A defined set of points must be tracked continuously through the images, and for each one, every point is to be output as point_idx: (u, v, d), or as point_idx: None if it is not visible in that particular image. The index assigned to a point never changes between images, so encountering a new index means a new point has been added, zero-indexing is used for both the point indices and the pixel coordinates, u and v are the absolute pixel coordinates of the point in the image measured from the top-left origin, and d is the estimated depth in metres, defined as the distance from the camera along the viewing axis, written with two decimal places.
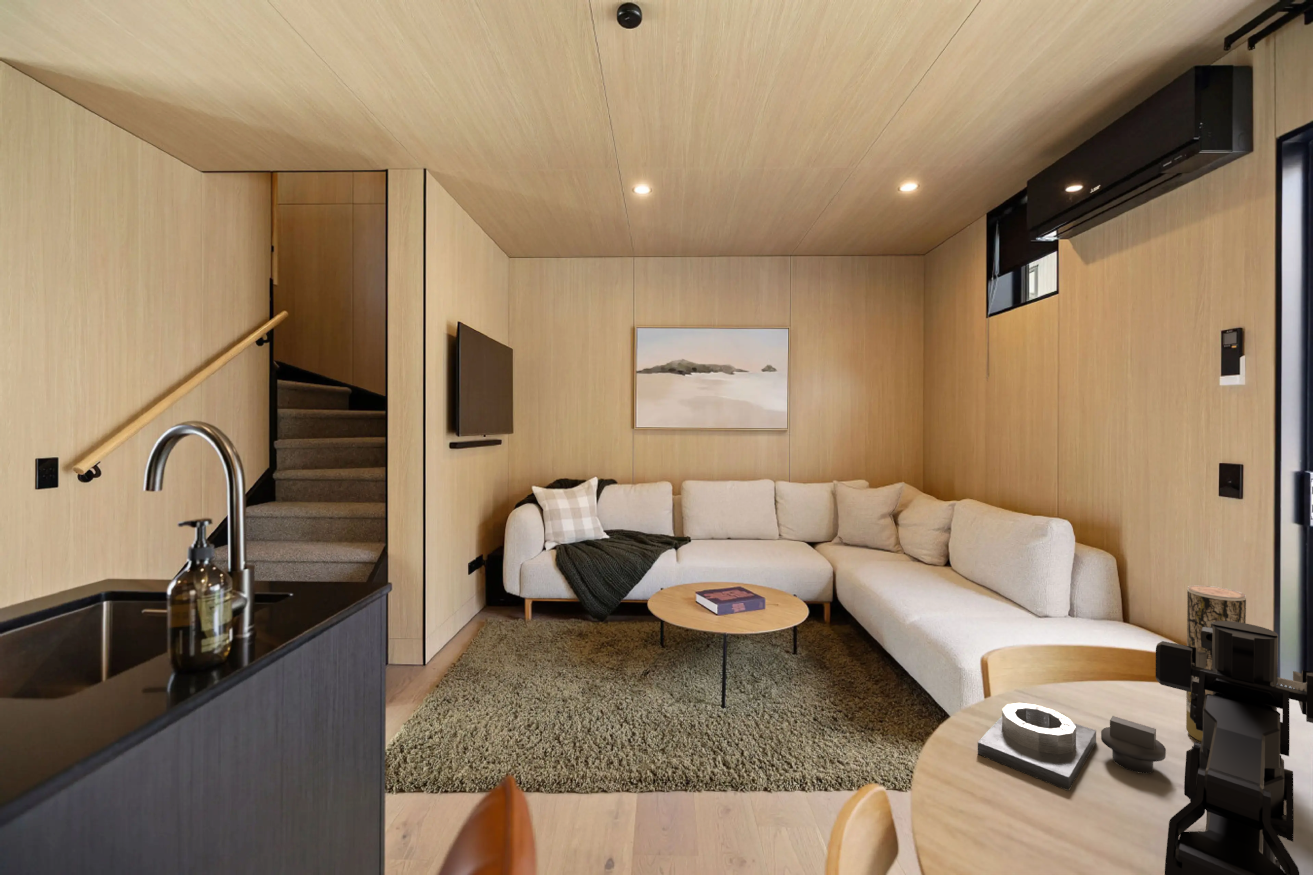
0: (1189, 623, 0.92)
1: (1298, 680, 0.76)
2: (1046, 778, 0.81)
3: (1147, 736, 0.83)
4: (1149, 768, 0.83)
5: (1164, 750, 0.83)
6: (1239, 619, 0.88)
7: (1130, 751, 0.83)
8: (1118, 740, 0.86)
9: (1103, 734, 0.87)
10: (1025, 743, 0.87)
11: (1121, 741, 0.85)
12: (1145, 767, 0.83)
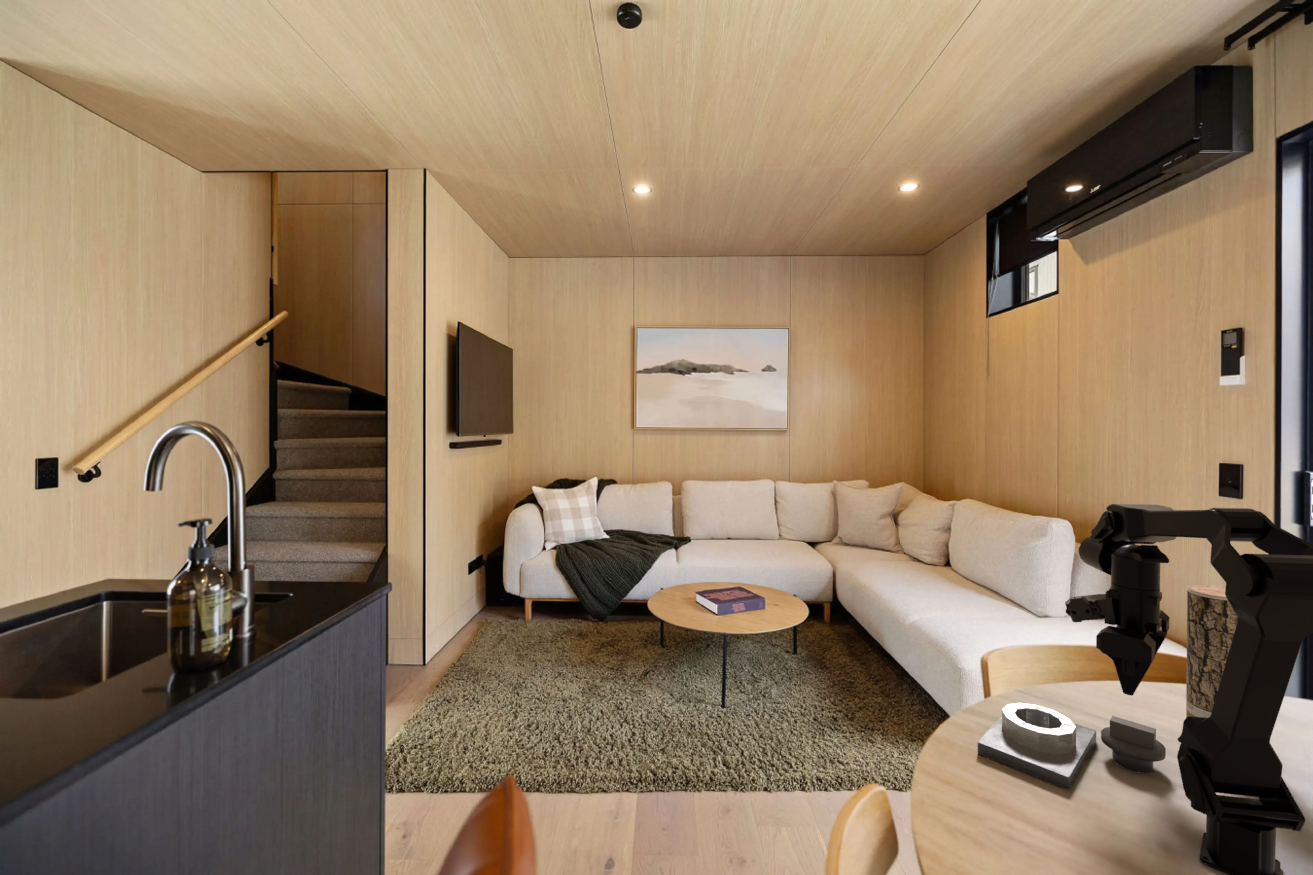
0: (1189, 623, 0.92)
1: None
2: (1046, 778, 0.81)
3: (1146, 736, 0.83)
4: (1149, 768, 0.83)
5: (1164, 750, 0.83)
6: None
7: (1130, 751, 0.83)
8: (1118, 740, 0.86)
9: (1103, 734, 0.87)
10: (1025, 743, 0.87)
11: (1121, 741, 0.85)
12: (1145, 767, 0.83)
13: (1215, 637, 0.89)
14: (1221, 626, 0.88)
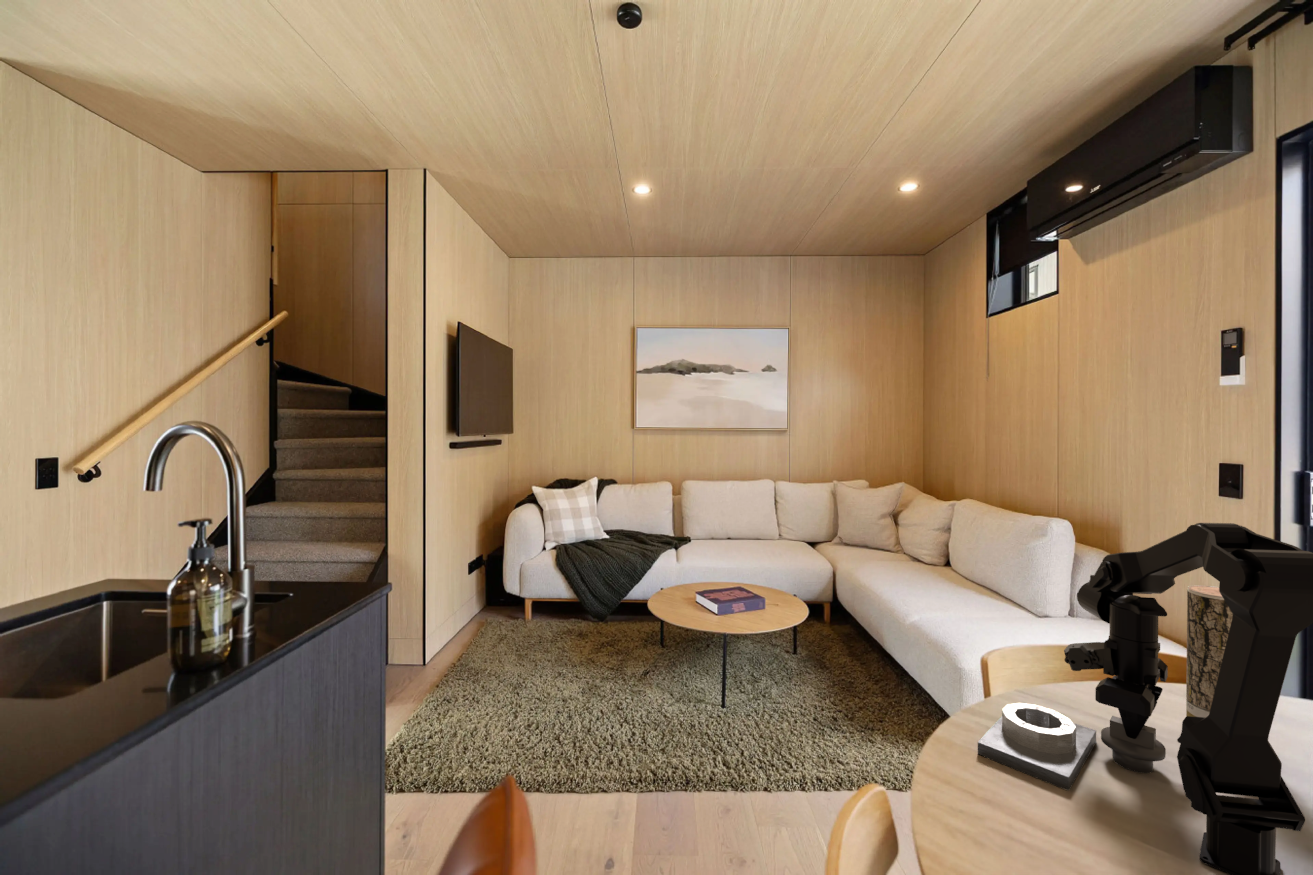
0: (1189, 623, 0.92)
1: None
2: (1046, 778, 0.81)
3: (1146, 736, 0.83)
4: (1149, 768, 0.83)
5: (1164, 750, 0.83)
6: None
7: (1130, 751, 0.83)
8: (1118, 740, 0.86)
9: (1103, 734, 0.87)
10: (1025, 743, 0.87)
11: (1121, 741, 0.85)
12: (1145, 767, 0.83)
13: (1215, 637, 0.89)
14: (1221, 626, 0.88)
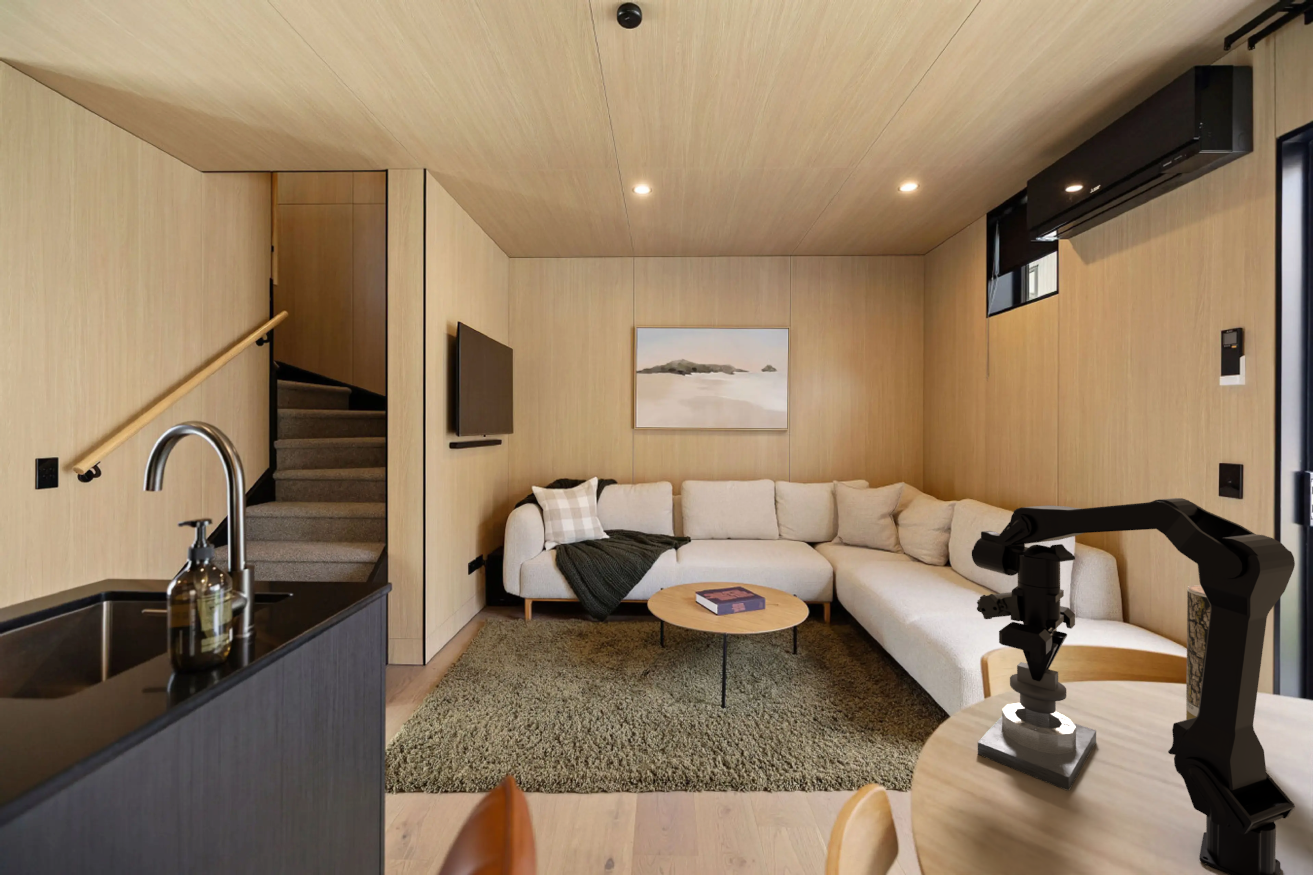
0: (1189, 623, 0.92)
1: None
2: (1046, 778, 0.81)
3: (1048, 678, 0.88)
4: (1051, 709, 0.87)
5: (1064, 691, 0.87)
6: None
7: (1032, 692, 0.87)
8: (1024, 683, 0.90)
9: (1011, 679, 0.91)
10: (1025, 743, 0.87)
11: (1026, 684, 0.89)
12: (1047, 708, 0.87)
13: None
14: None
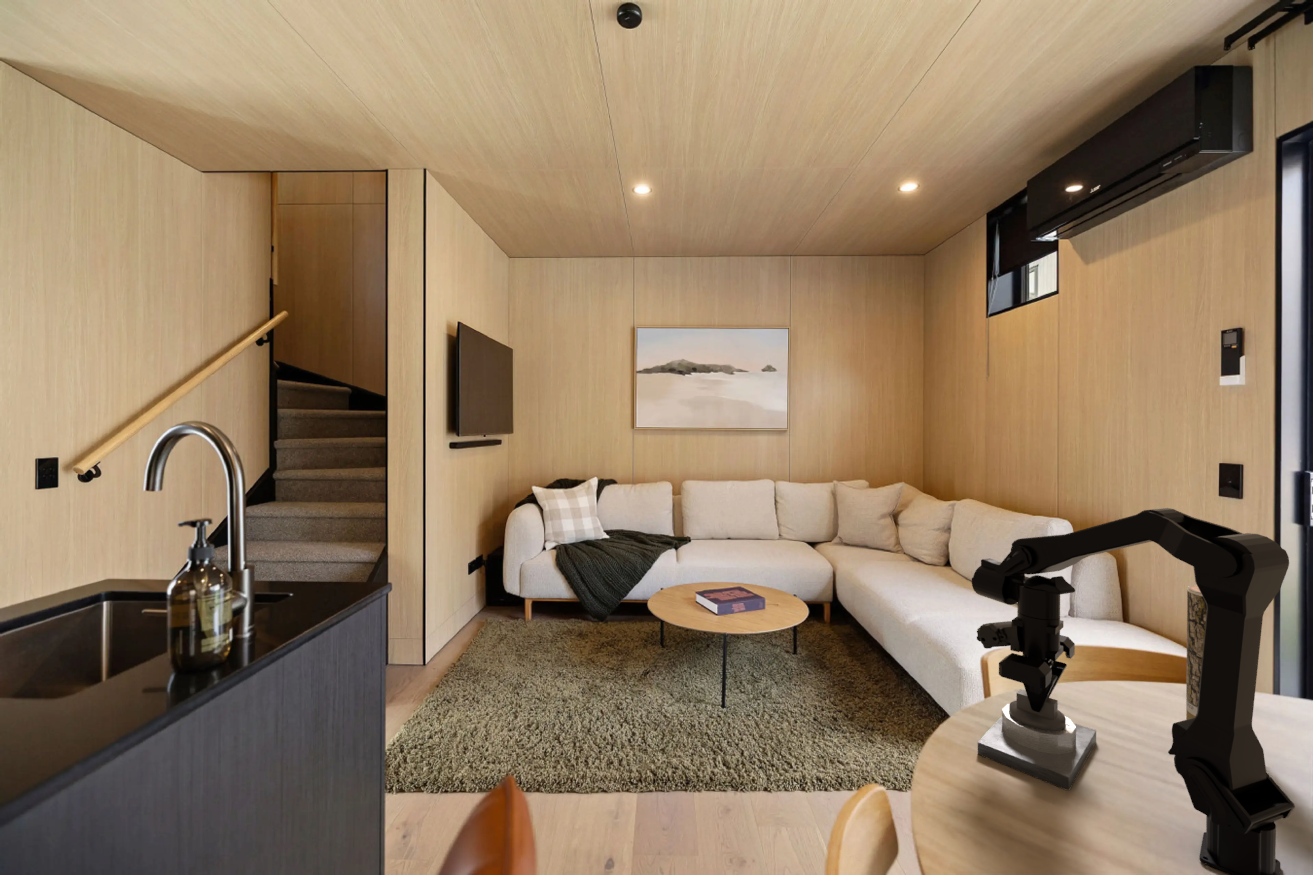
0: (1189, 623, 0.92)
1: None
2: (1046, 778, 0.81)
3: (1048, 707, 0.88)
4: None
5: (1064, 720, 0.87)
6: None
7: (1031, 721, 0.87)
8: (1023, 711, 0.90)
9: (1010, 706, 0.92)
10: (1025, 743, 0.87)
11: (1025, 712, 0.90)
12: None
13: None
14: None
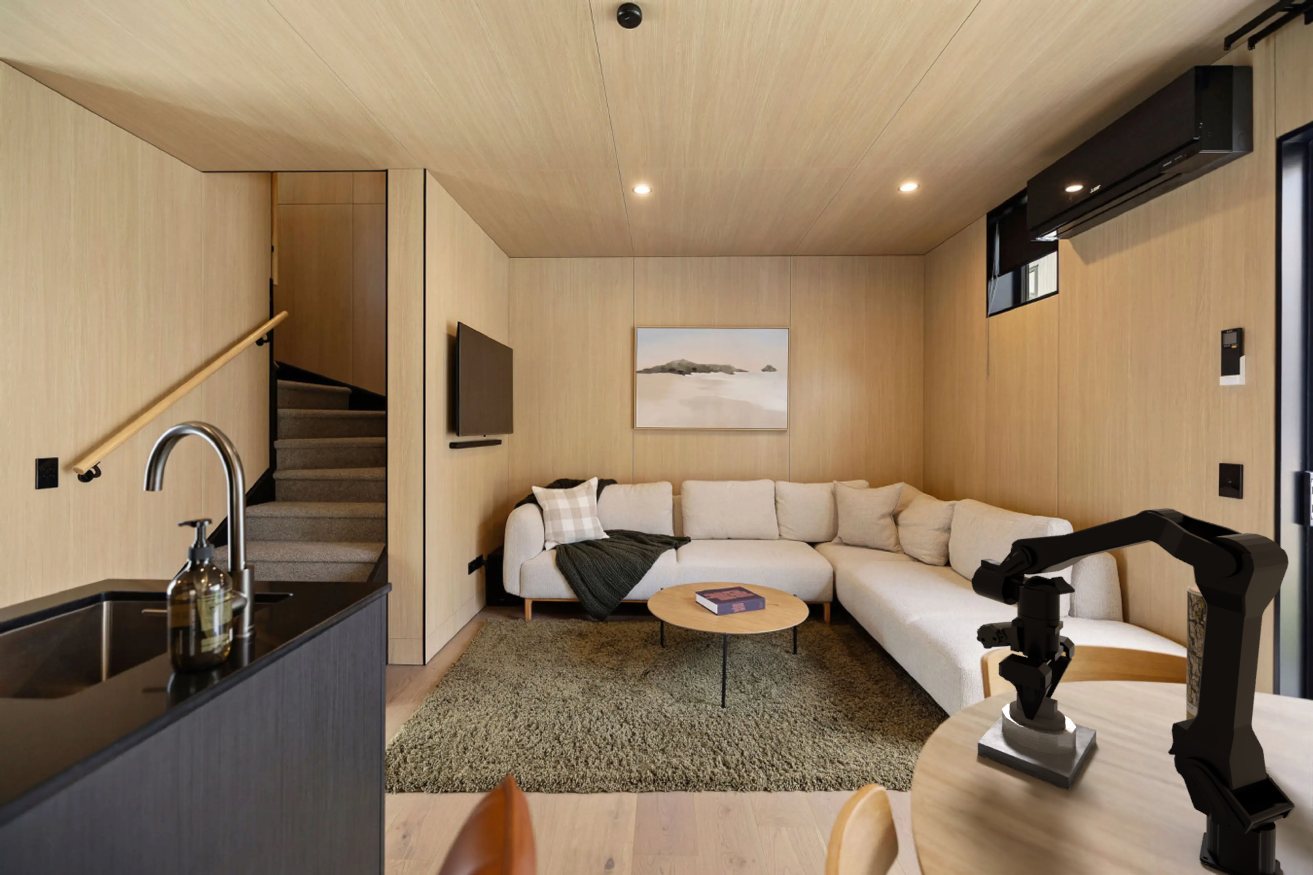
0: (1189, 623, 0.92)
1: None
2: (1046, 778, 0.81)
3: (1048, 707, 0.88)
4: None
5: (1064, 720, 0.87)
6: None
7: (1031, 721, 0.87)
8: None
9: (1010, 706, 0.92)
10: (1025, 743, 0.87)
11: None
12: None
13: None
14: None
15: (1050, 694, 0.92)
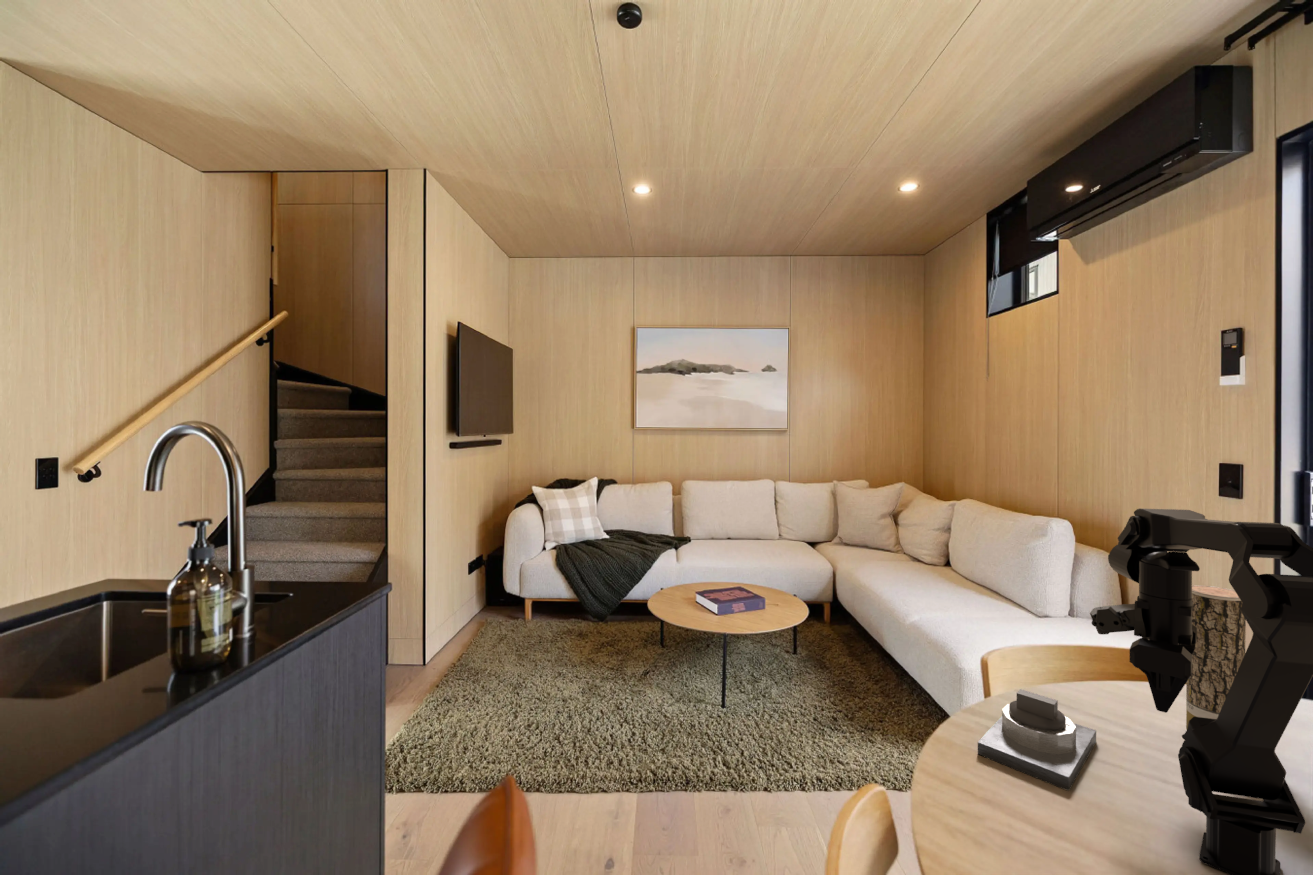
0: None
1: None
2: (1046, 778, 0.81)
3: (1048, 707, 0.88)
4: None
5: (1064, 720, 0.87)
6: (1239, 619, 0.88)
7: (1031, 721, 0.87)
8: (1023, 711, 0.90)
9: (1010, 706, 0.92)
10: (1025, 743, 0.87)
11: (1025, 712, 0.90)
12: None
13: (1215, 637, 0.89)
14: (1222, 626, 0.88)
15: None
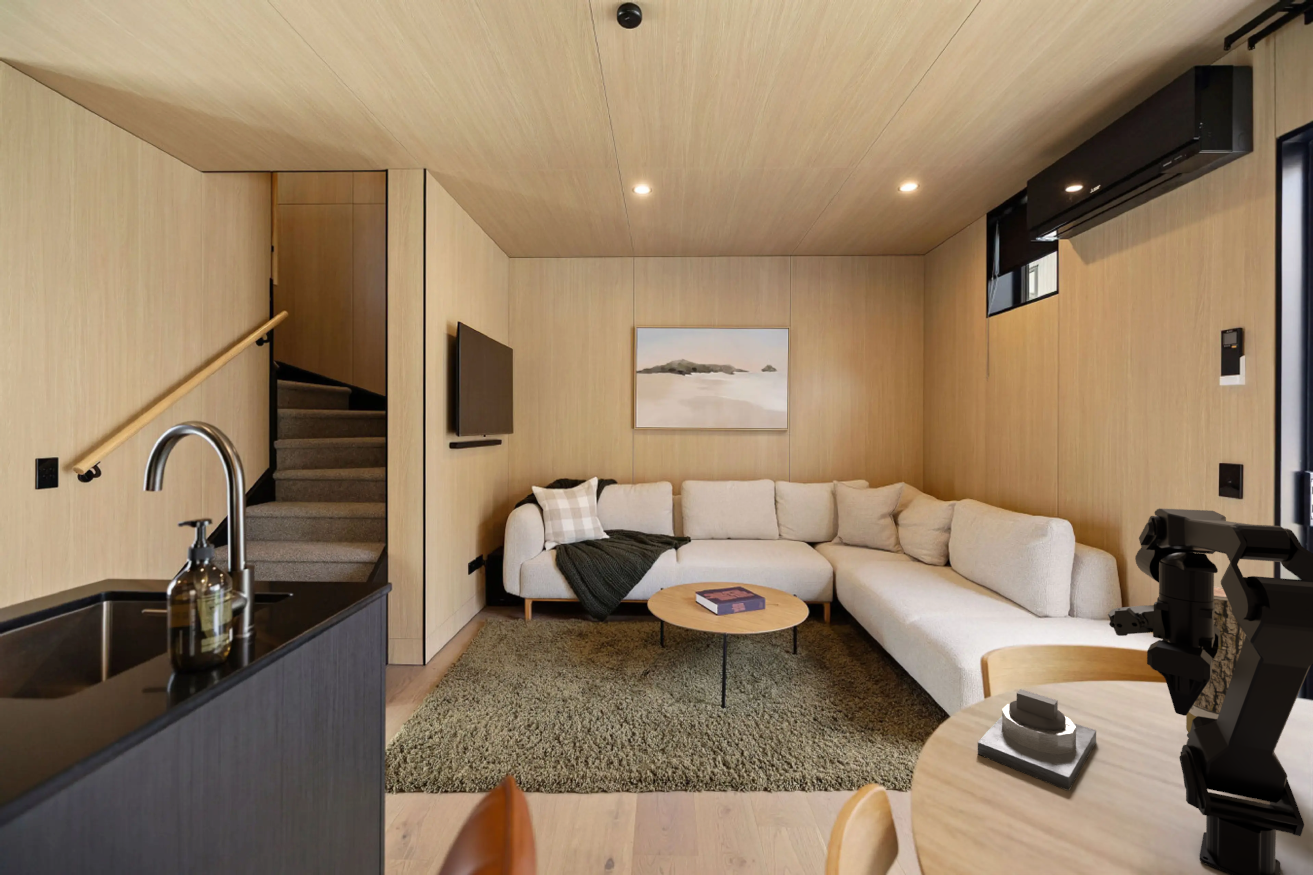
0: None
1: None
2: (1046, 778, 0.81)
3: (1048, 707, 0.88)
4: None
5: (1064, 720, 0.87)
6: None
7: (1031, 721, 0.87)
8: (1023, 711, 0.90)
9: (1010, 706, 0.92)
10: (1025, 743, 0.87)
11: (1025, 712, 0.90)
12: None
13: None
14: (1221, 626, 0.88)
15: None
